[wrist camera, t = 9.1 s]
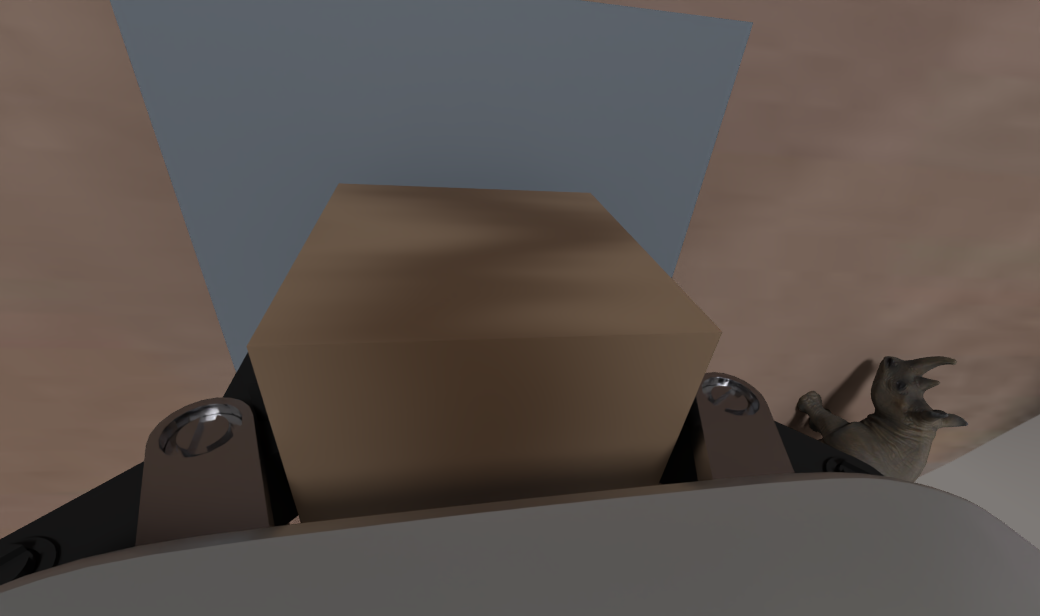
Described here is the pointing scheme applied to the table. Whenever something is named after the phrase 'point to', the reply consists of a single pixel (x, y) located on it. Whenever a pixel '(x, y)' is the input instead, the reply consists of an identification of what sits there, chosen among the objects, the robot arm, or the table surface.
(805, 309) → the table surface
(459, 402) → the walnut cube
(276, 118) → the pedestal
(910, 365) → the rhino figurine
